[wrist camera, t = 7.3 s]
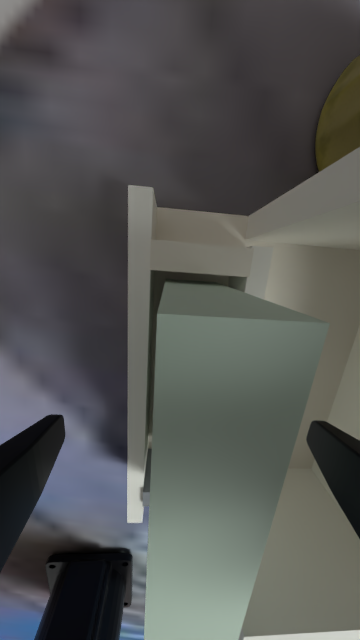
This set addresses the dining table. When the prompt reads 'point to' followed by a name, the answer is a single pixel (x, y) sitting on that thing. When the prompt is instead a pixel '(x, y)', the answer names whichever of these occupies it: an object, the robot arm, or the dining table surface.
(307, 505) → the cabinet
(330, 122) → the vase
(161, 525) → the door
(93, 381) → the dining table surface
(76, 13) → the dining table surface
